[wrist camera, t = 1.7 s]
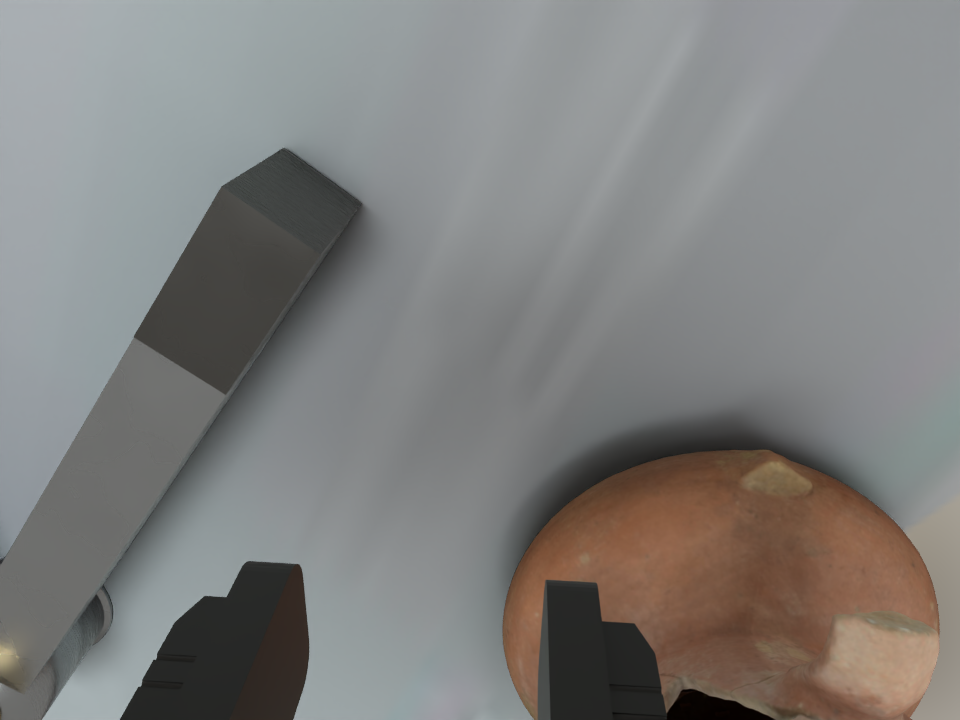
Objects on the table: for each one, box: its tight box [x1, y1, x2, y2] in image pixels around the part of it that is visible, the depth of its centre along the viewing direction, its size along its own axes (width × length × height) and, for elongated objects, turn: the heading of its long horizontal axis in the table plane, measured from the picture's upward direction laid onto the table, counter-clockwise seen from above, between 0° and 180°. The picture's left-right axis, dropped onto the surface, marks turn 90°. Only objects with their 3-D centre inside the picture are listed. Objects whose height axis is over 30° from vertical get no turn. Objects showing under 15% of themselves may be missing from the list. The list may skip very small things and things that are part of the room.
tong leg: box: [0, 148, 362, 720], centre depth 26 cm, size 24×5×5 cm, turn 144°
